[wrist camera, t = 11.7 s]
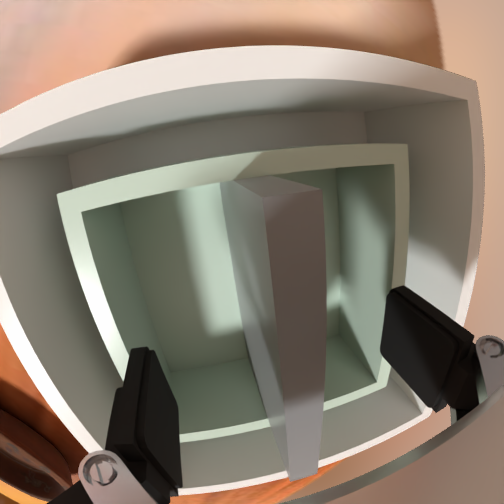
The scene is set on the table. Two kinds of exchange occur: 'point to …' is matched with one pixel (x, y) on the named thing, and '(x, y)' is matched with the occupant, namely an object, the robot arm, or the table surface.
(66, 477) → the dish
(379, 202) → the small crate
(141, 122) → the big crate
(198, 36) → the table surface
